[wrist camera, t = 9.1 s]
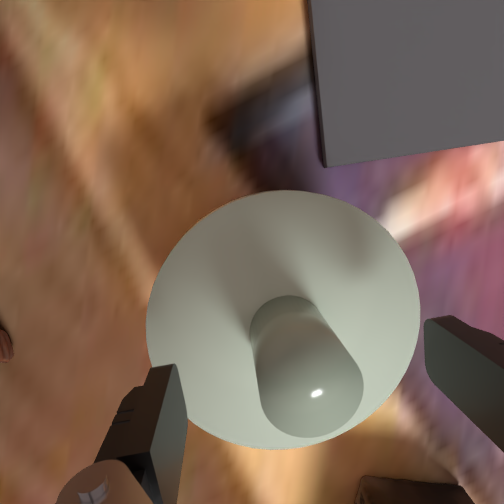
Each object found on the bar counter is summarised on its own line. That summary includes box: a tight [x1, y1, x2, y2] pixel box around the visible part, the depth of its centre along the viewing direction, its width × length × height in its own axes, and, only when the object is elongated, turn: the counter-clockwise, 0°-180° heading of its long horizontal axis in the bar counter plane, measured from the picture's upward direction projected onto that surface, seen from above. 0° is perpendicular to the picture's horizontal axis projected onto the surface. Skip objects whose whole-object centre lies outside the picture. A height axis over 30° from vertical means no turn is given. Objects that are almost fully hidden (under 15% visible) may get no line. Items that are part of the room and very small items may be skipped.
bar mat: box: [307, 0, 504, 168], centre depth 17 cm, size 14×10×1 cm
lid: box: [146, 190, 420, 450], centre depth 12 cm, size 11×11×5 cm
